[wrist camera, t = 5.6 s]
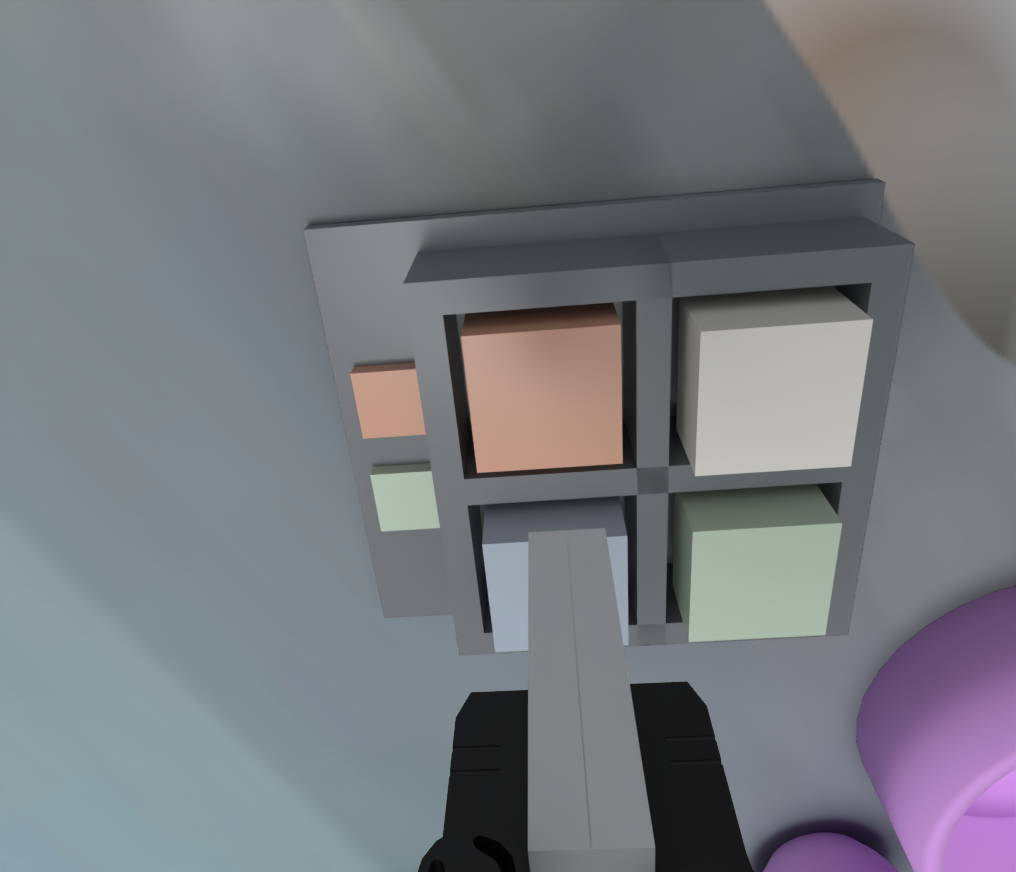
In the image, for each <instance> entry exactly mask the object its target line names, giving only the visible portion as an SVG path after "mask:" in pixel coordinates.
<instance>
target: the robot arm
mask: <svg viewBox="0 0 1016 872" xmlns="http://www.w3.org/2000/svg"><path fill="white" fill-rule="evenodd" d="M418 872H754V871H753V869H752V867H751V864H750V862H749V859H748V857H747V854H746V850H745V847H744V843H743V839H742V836H741V832H740V828H739V824H738V821H737V817H736V813H735V809H734V806H733V802H732V798H731V795H730V791H729V787H728V783H727V780H726V776H725V772H724V768H723V765H722V764H721V757H720V753H719V750H718V746H717V742H716V741H715V735H714V731H713V727H712V724H711V720H710V716H709V712H708V709H707V706H706V705H705V703H704V702H703V701H702V700H701V698H700V697H699V696H698V695H697V693H696V692H695V691H694V690H693V688H692V687H691V686H690V685H689V683H688V682H666V683H642V684H630V683H629V677H628V670H627V664H626V657H625V651H624V645H623V638H622V632H621V626H620V619H619V613H618V606H617V600H616V594H615V587H614V581H613V574H612V568H611V562H610V555H609V549H608V543H607V536H606V530H605V528H597V529H579V530H560V531H542V532H528V690H518V691H494V692H471V693H470V695H469V697H468V698H467V700H466V702H465V703H464V705H463V707H462V708H461V710H460V712H459V713H458V715H457V717H456V721H455V730H454V739H453V752H452V758H451V767H450V776H449V785H448V794H447V804H446V813H445V822H444V831H443V837H442V838H441V839H439V840H437V841H436V842H435V843H434V845H433V846H432V847H431V848H430V850H429V851H428V852H427V853H426V855H425V856H424V857H423V858H422V861H421V864H420V867H419V870H418Z"/></svg>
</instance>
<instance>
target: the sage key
mask: <svg viewBox="0 0 1016 872" xmlns="http://www.w3.org/2000/svg"><path fill="white" fill-rule="evenodd" d="M841 529H842V522H841V520H840V519H839V517H838V516H837V514H836V513H835V511H834V510H833V508H832V507H831V505H830V504H829V502H828V501H827V499H826V498H825V496H824V495H823V493H822V492H821V490H820V489H819V487H818V485H817V484H804V485H788V486H772V487H756V488H740V489H724V490H708V491H692V492H676V493H675V502H674V542H673V582H672V585H673V588H674V592H675V595H676V599H677V603H678V606H679V610H680V613H681V617H682V621H683V624H684V628H685V631H686V635H687V638H688V642H702V641H721V640H740V639H759V638H778V637H797V636H816V635H825V634H826V627H827V621H828V614H829V608H830V601H831V594H832V588H833V581H834V575H835V568H836V561H837V555H838V548H839V542H840V535H841Z"/></svg>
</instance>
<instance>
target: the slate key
mask: <svg viewBox="0 0 1016 872" xmlns="http://www.w3.org/2000/svg"><path fill="white" fill-rule="evenodd" d="M597 528H605V530H606V536H607V543H608V549H609V555H610V562H611V568H612V574H613V581H614V587H615V594H616V600H617V606H618V613H619V619H620V626H621V632H622V638H623V645H624V646H625V645H629V644H628V546H627V532H626V527H625V522H624V518H623V513H622V509H621V504H620V499H619V496H612V497H596V498H580V499H564V500H547V501H531V502H515V503H499V504H485V512H484V526H483V540H482V548H483V556H484V564H485V572H486V580H487V589H488V597H489V605H490V613H491V622H492V630H493V638H494V646H495V652H511V651H528V532H542V531H560V530H579V529H597Z"/></svg>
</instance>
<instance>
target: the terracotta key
mask: <svg viewBox="0 0 1016 872" xmlns="http://www.w3.org/2000/svg"><path fill="white" fill-rule="evenodd" d="M461 341H462V350H463V358H464V366H465V375H466V383H467V392H468V400H469V408H470V417H471V425H472V434H473V442H474V450H475V459H476V467H477V473H484V472H500V471H515V470H531V469H546V468H562V467H577V466H593V465H608V464H623V447H622V371H621V324H620V321H619V318H618V315H617V312H616V309H615V306H614V304H613V302H610V303H596V304H583V305H570V306H557V307H543V308H530V309H517V310H504V311H490V312H477V313H465V318H464V323H463V328H462V334H461Z"/></svg>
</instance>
